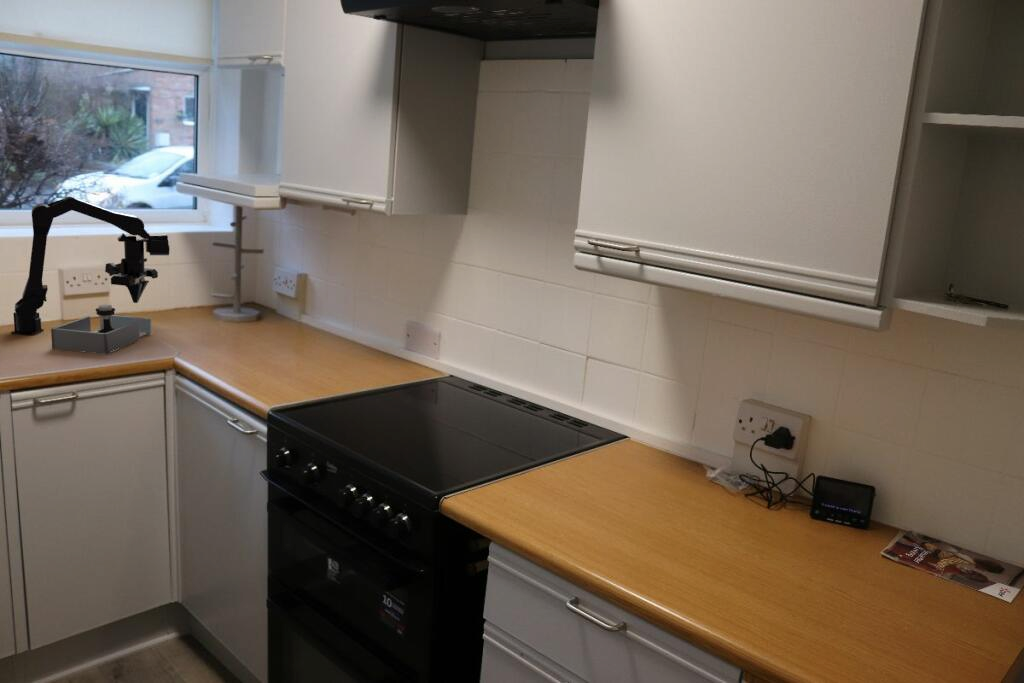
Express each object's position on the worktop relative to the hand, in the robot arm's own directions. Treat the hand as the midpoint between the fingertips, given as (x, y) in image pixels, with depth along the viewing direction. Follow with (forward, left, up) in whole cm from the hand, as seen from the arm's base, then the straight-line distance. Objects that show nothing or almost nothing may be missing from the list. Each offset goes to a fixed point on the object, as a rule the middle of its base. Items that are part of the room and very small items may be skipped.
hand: (135, 302), depth 264 cm
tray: (0, -15, -9) cm, 17 cm away
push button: (0, -18, -8) cm, 20 cm away
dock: (0, -23, -9) cm, 24 cm away
